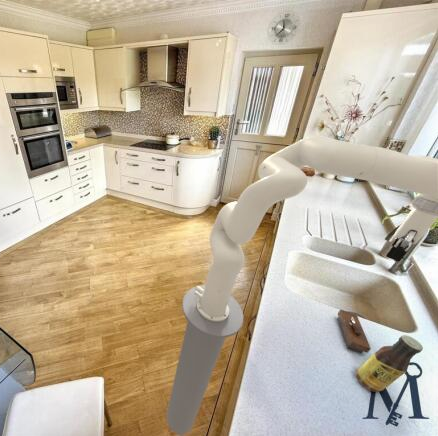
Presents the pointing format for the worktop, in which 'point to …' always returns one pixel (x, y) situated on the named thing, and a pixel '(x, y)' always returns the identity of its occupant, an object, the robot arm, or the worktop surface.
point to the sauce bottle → (388, 364)
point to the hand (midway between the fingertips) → (395, 253)
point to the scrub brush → (352, 332)
